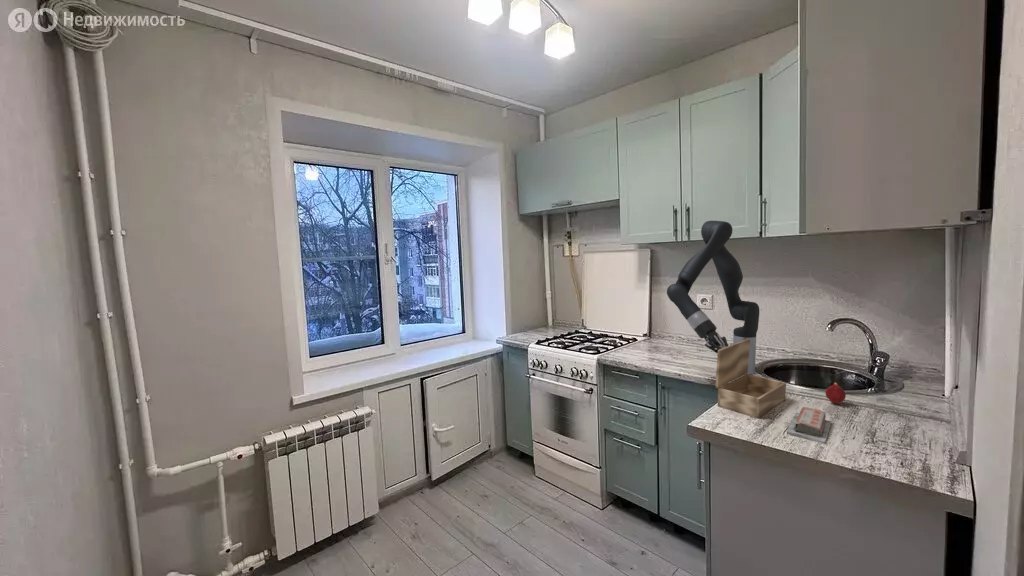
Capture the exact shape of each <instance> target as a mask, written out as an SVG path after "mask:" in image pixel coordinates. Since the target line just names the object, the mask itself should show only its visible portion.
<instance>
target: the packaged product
mask: <svg viewBox="0 0 1024 576" xmlns="http://www.w3.org/2000/svg"><path fill="white" fill-rule="evenodd" d="M826 416H827V415H826V412H824V411H822V410H821V409H817V408H812V407H806V406H802V408H801V409H800V411H799V412H795V413H794V416H793V417H792V419H791V421H790V423H789V425H788V427H787V429H786V435H788V434H789V435H788V436H792V437H796V438H801V439H803V440H804V439H805V440H807V441H812V442H817V443H820V444H826V441H827V438H828V434H829V431H830V428H831V423H832V421H831V420H826Z"/></svg>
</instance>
